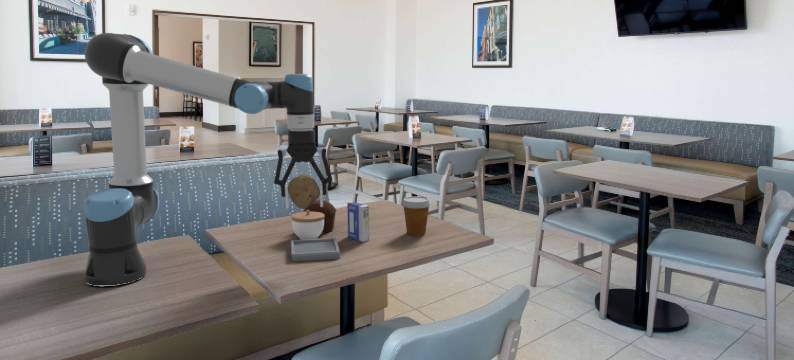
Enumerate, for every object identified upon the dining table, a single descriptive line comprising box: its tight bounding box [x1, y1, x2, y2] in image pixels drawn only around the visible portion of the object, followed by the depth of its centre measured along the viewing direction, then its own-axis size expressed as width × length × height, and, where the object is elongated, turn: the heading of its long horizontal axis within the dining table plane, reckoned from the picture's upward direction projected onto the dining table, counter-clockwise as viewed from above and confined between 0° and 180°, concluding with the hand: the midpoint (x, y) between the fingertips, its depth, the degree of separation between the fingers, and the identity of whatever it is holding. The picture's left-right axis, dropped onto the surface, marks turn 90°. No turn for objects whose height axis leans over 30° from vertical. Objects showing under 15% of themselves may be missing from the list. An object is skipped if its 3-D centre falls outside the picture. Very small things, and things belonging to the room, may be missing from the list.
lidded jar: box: [291, 210, 324, 240], centre depth 194 cm, size 11×11×9 cm
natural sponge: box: [287, 174, 320, 210], centre depth 169 cm, size 9×9×10 cm
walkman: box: [346, 201, 370, 243], centre depth 193 cm, size 8×3×12 cm, turn 43°
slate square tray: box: [290, 237, 341, 262], centre depth 180 cm, size 14×14×2 cm
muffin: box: [303, 199, 338, 234], centre depth 204 cm, size 12×11×10 cm
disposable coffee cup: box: [401, 195, 431, 237], centre depth 199 cm, size 10×10×12 cm
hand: (304, 206), depth 170 cm, fingers closed on natural sponge, 9 cm apart
